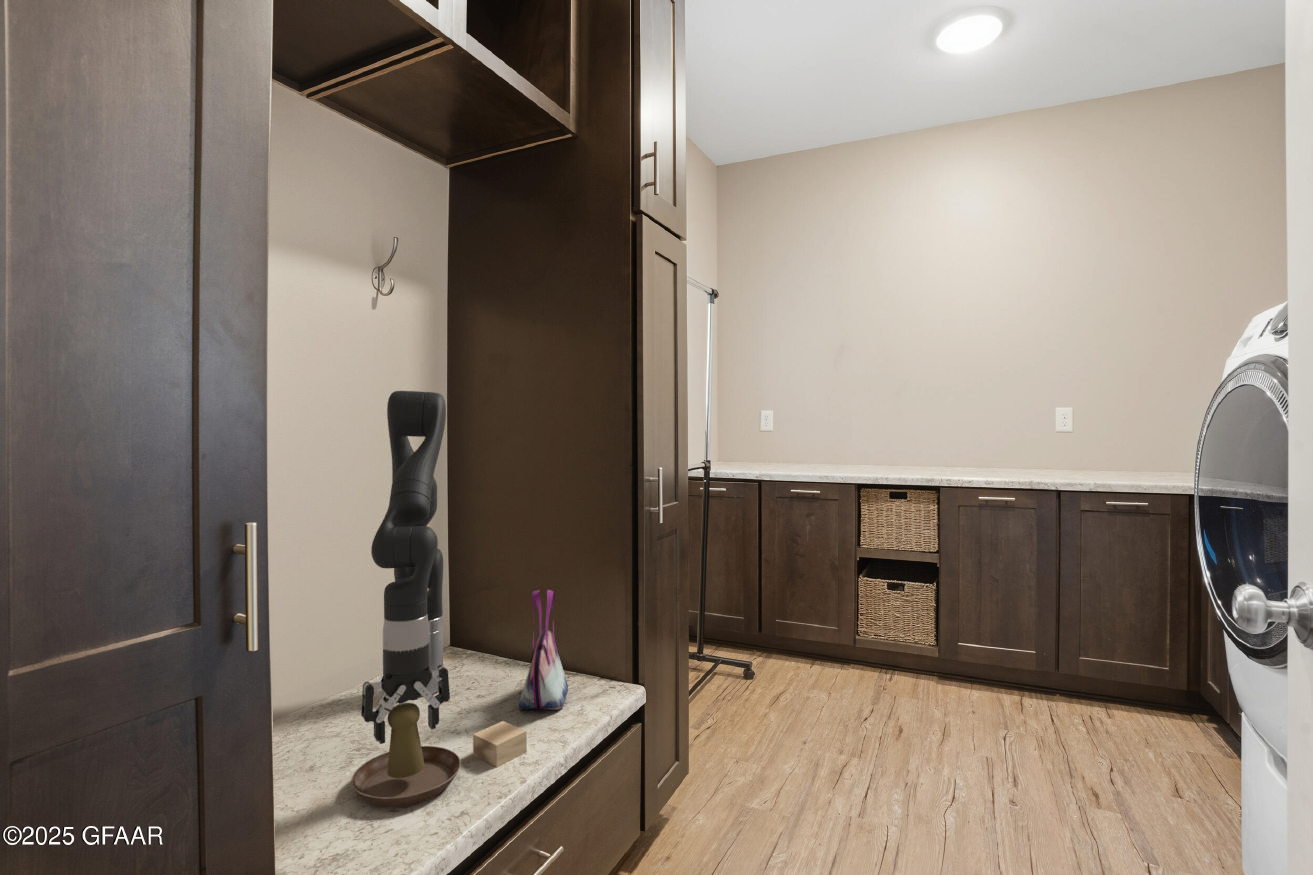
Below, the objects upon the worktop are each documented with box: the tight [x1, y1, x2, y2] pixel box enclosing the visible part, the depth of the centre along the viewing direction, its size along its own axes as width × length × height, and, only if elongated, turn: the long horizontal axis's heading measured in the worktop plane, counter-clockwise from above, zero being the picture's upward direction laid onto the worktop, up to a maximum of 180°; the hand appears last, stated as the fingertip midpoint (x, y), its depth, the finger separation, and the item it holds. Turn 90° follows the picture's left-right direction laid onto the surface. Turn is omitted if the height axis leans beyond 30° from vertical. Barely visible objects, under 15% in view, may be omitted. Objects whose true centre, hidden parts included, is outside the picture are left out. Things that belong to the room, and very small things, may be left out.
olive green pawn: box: [387, 702, 424, 778], centre depth 112 cm, size 6×6×11 cm
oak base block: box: [472, 720, 528, 768], centre depth 123 cm, size 7×7×4 cm
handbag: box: [518, 589, 569, 711], centre depth 147 cm, size 21×10×25 cm, turn 1°
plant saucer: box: [350, 745, 462, 809], centre depth 113 cm, size 18×18×3 cm
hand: (407, 734), depth 113 cm, fingers open, 8 cm apart
